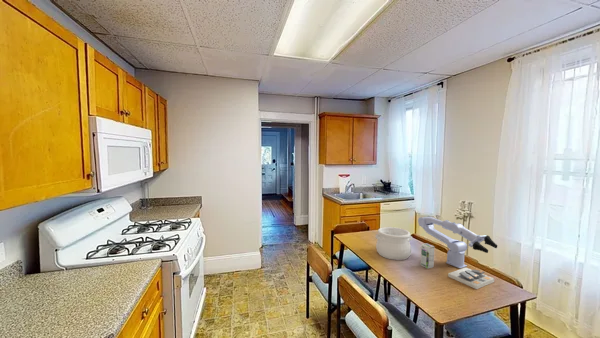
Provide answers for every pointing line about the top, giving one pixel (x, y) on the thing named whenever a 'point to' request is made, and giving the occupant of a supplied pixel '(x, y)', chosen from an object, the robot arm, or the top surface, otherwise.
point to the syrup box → (427, 255)
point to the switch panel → (475, 282)
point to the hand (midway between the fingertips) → (492, 249)
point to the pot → (393, 243)
